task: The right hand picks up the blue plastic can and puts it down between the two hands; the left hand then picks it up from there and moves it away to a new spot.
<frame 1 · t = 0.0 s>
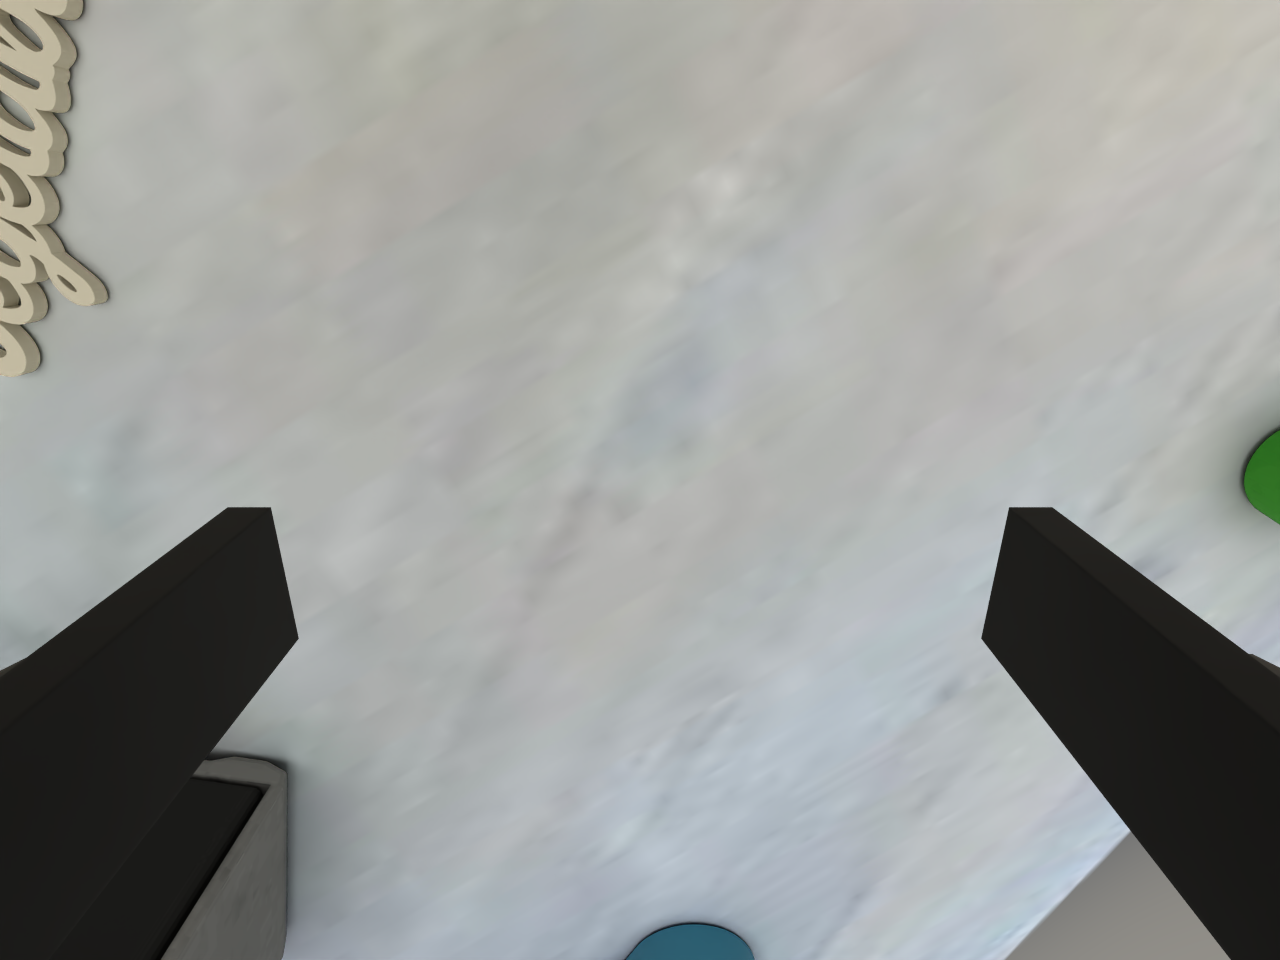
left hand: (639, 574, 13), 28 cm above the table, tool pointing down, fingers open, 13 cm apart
decorative sign: (23, 159, 36), on the table
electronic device: (69, 833, 53), on the table
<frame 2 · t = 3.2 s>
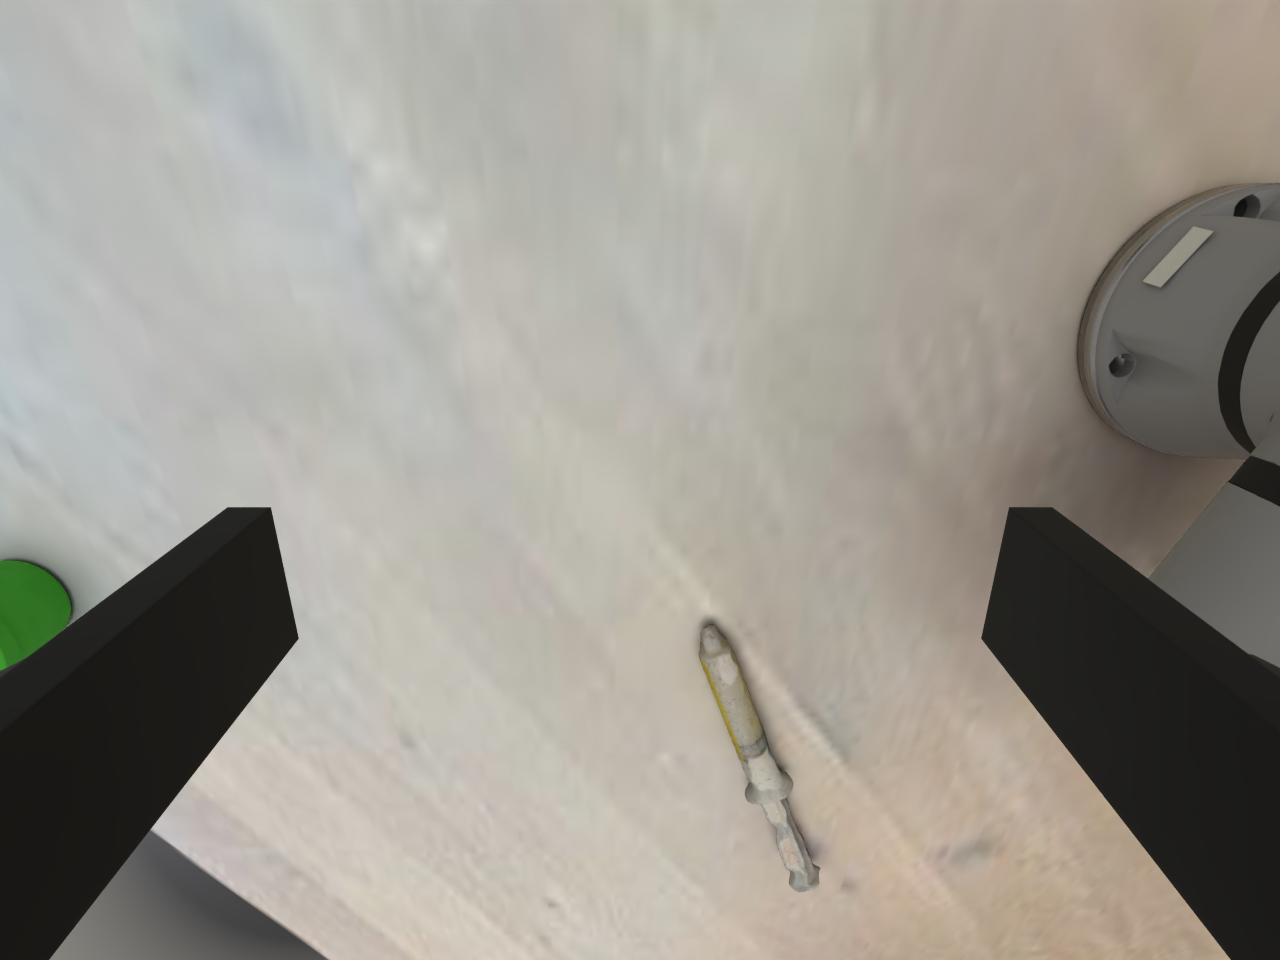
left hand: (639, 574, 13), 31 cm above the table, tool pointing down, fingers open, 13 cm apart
potted flower: (32, 595, 48), on the table
syringe: (760, 753, 53), on the table
when the right hand's fingers open (4 cm above the table, at t = 8.3 s): can drops 2 cm, on the table.
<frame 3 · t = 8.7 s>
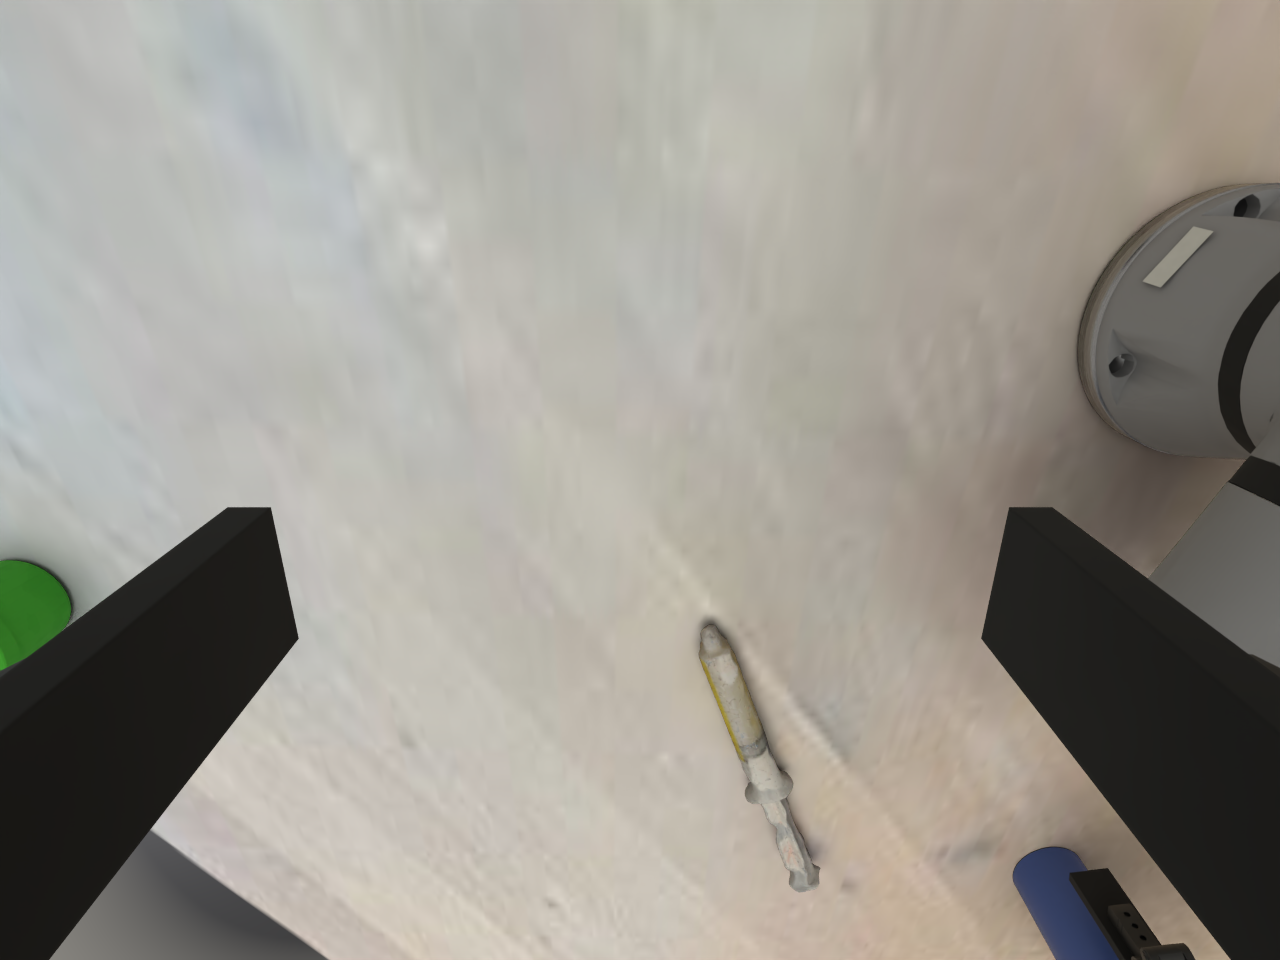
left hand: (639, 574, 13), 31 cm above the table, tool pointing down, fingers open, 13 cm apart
potted flower: (32, 595, 48), on the table
syringe: (760, 753, 53), on the table
can: (1047, 871, 58), on the table
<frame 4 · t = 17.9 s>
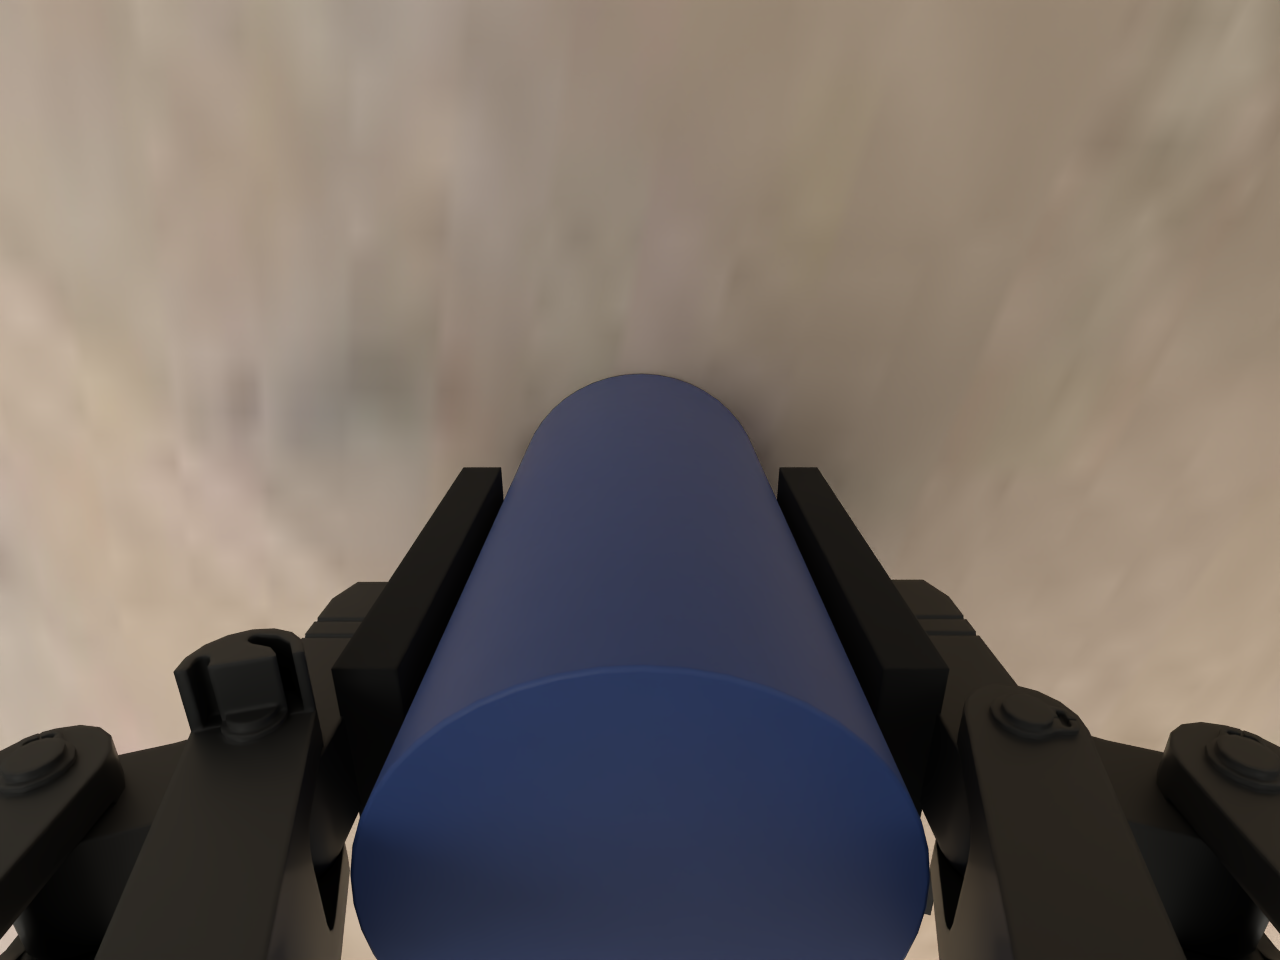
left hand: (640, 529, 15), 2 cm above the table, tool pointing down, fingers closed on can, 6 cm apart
can: (640, 490, 17), on the table, touching left hand
when the left hand's fingers open (4 cm above the table, at t = 24.5 s): can drops 2 cm, on the table.
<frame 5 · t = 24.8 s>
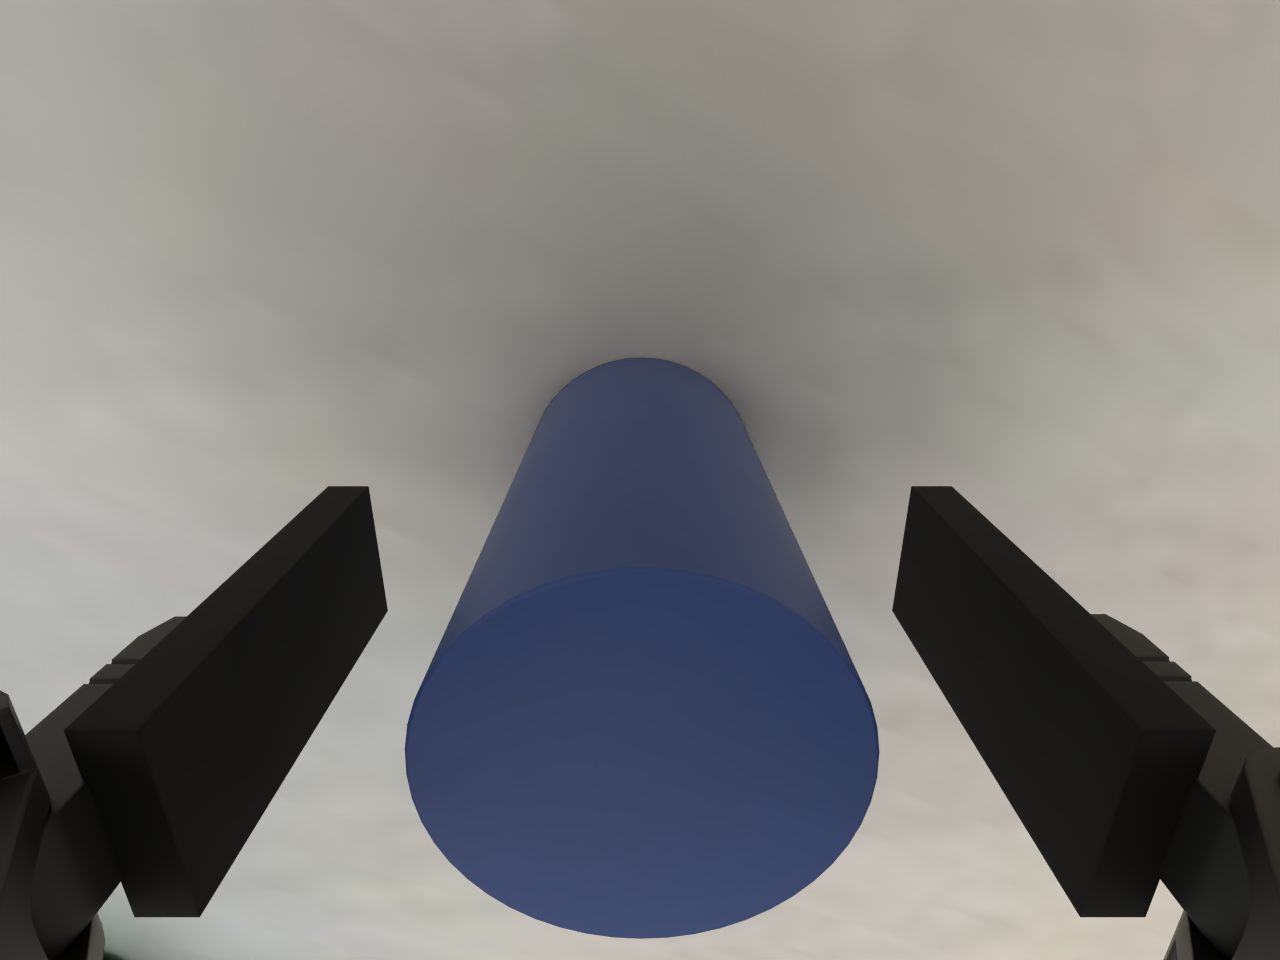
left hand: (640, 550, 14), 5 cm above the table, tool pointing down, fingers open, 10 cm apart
can: (640, 465, 18), on the table
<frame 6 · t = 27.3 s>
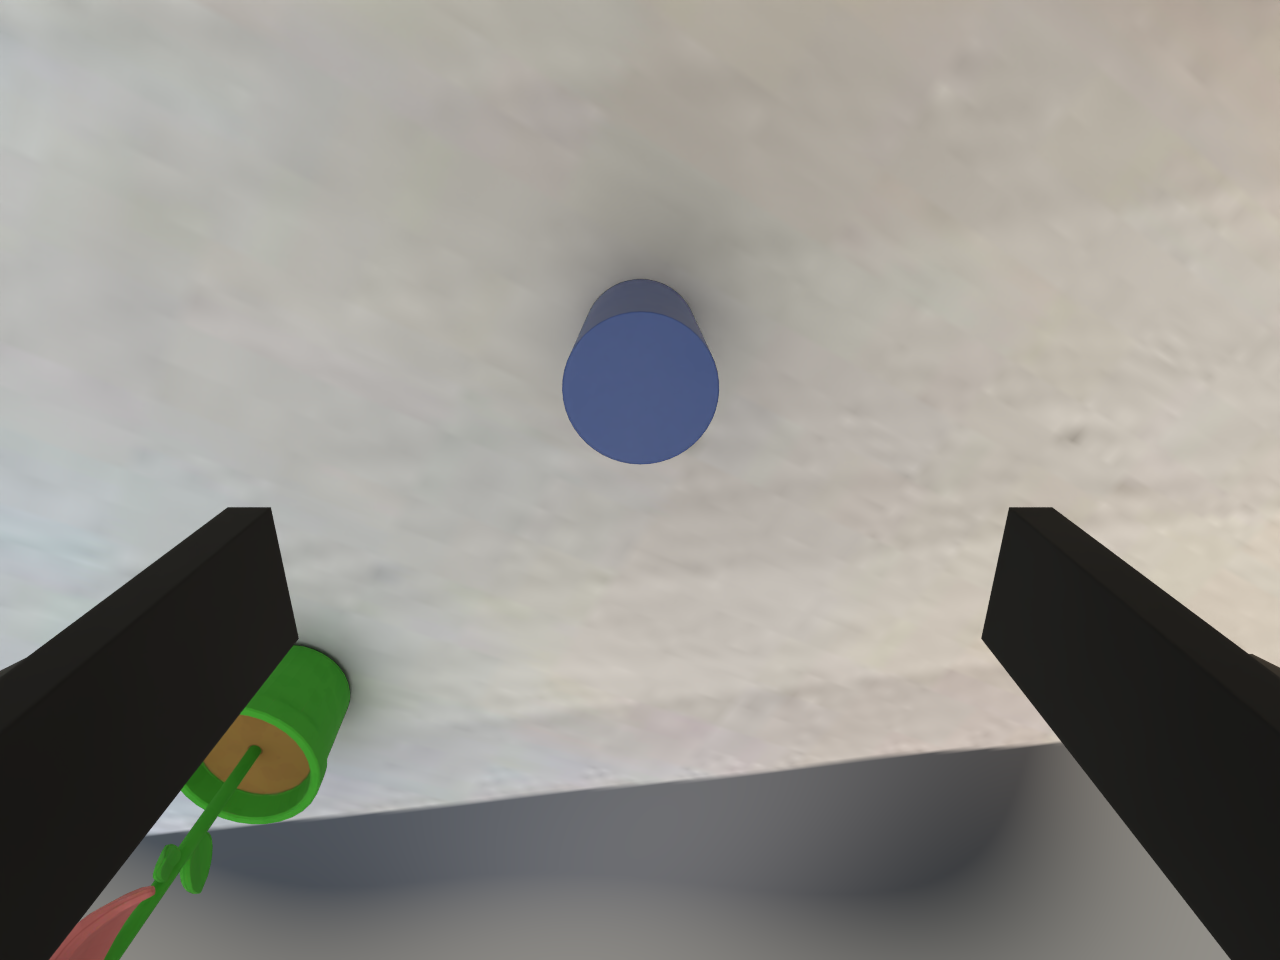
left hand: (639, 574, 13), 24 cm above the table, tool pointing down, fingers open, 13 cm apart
potted flower: (301, 679, 42), on the table
can: (640, 337, 35), on the table
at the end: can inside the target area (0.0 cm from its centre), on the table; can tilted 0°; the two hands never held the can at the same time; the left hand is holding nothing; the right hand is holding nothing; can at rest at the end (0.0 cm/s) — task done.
